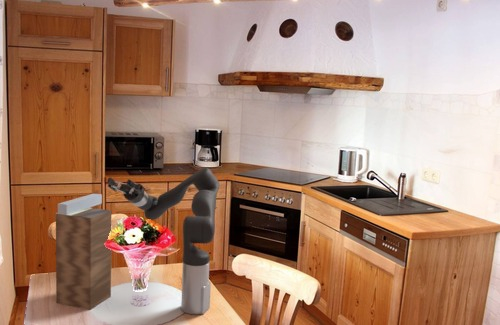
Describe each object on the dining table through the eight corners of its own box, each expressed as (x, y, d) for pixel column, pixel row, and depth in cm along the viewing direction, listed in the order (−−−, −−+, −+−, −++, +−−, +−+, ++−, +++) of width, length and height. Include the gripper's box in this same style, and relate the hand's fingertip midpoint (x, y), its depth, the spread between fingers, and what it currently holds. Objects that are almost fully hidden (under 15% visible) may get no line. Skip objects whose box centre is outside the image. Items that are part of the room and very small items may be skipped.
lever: (101, 203, 182) (101, 194, 181) (66, 215, 163) (66, 204, 162) (93, 202, 183) (93, 193, 182) (57, 213, 164) (57, 203, 163)
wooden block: (110, 296, 176) (111, 210, 172) (90, 309, 165) (90, 217, 160) (78, 290, 180) (78, 206, 176) (56, 302, 169) (55, 213, 164)
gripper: (149, 205, 201) (131, 191, 186) (118, 201, 205) (99, 187, 190) (153, 188, 203) (137, 173, 189) (123, 185, 207) (105, 170, 193)
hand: (118, 180), depth 190 cm, fingers open, 8 cm apart
